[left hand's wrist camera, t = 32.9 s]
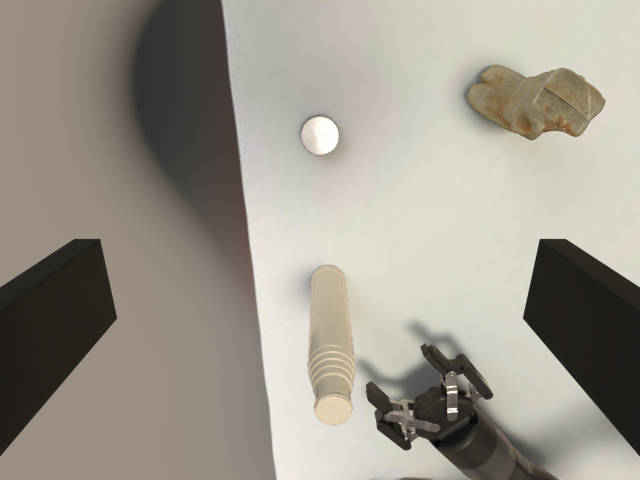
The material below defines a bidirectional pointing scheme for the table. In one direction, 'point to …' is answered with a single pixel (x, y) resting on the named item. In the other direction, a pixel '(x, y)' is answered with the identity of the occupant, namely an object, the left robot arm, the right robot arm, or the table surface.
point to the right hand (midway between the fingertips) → (395, 368)
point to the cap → (319, 135)
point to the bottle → (330, 346)
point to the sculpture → (536, 101)
